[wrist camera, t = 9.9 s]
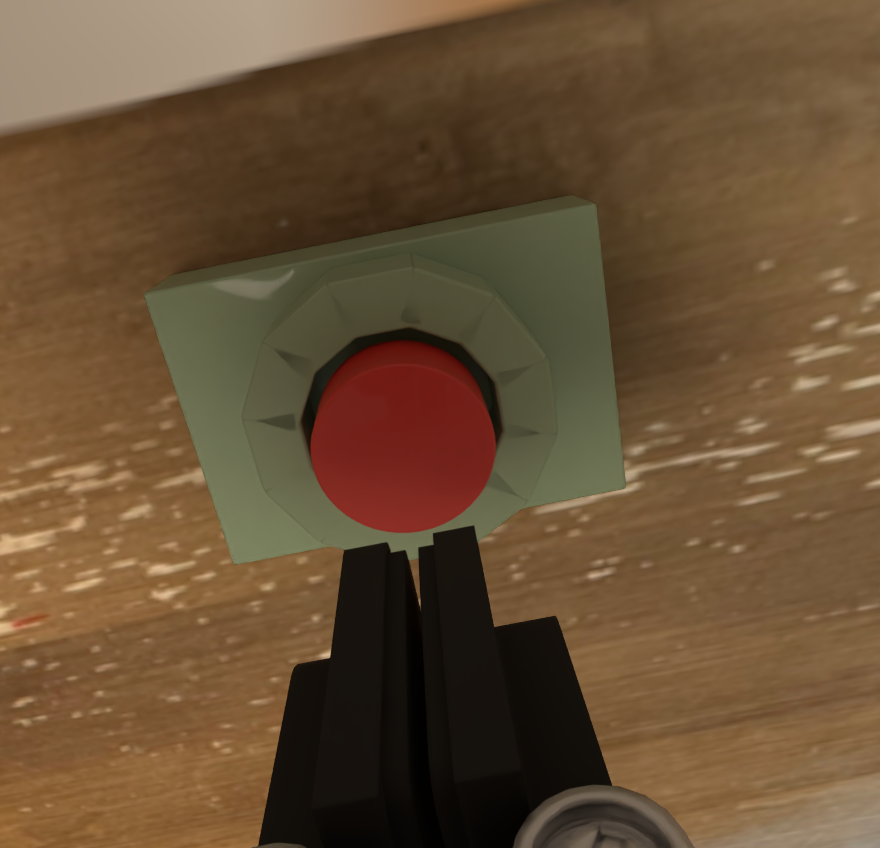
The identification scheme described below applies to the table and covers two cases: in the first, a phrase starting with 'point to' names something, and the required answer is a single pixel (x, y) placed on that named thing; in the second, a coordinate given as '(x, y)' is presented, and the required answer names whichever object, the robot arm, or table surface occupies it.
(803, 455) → the table surface
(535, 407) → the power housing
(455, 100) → the table surface
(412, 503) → the power button
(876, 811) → the table surface
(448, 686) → the robot arm
